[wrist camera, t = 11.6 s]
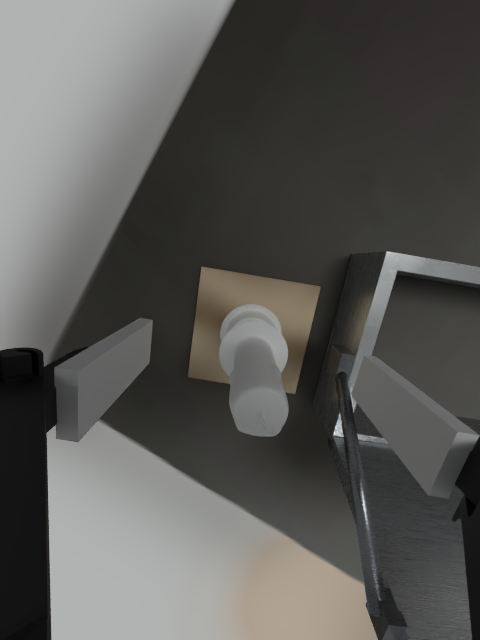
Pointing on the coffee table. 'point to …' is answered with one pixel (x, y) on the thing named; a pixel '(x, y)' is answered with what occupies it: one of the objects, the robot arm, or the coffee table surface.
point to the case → (392, 470)
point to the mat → (241, 289)
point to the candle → (255, 369)
